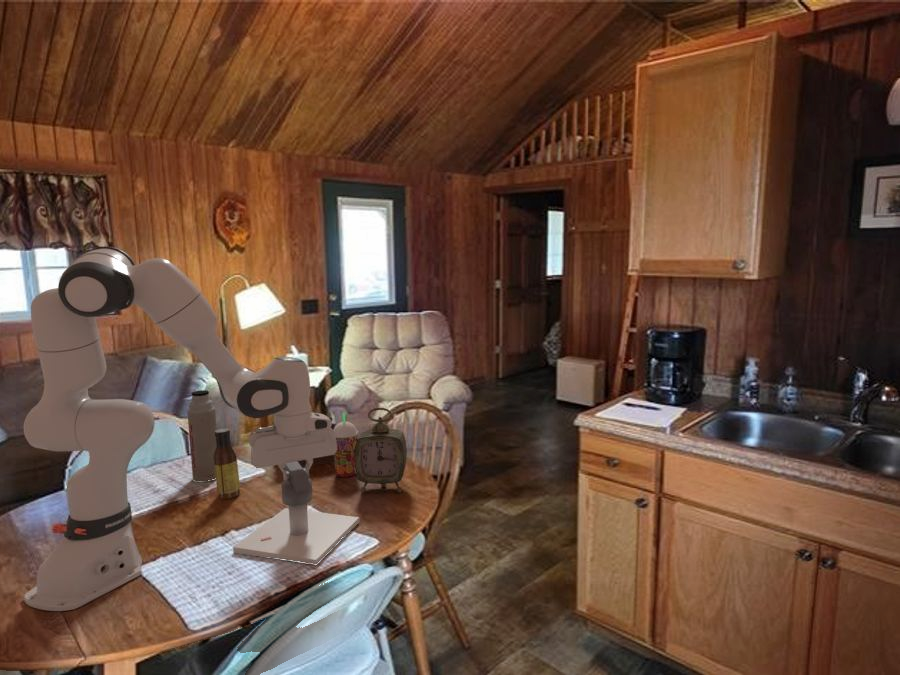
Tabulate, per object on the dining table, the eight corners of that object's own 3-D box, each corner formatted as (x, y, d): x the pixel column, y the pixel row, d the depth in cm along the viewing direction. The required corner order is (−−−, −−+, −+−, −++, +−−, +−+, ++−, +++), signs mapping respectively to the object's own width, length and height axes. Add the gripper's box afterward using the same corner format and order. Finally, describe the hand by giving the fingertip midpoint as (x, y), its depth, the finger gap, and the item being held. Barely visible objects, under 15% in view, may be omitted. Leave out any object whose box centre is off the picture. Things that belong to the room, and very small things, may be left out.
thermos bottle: (193, 484, 178) (185, 395, 174) (192, 475, 185) (185, 390, 181) (220, 479, 181) (214, 392, 177) (219, 471, 189) (213, 387, 185)
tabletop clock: (355, 495, 168) (352, 411, 164) (361, 483, 177) (358, 403, 173) (405, 495, 167) (402, 411, 164) (408, 483, 176) (406, 403, 173)
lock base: (316, 566, 130) (314, 526, 128) (233, 552, 136) (230, 514, 135) (359, 522, 150) (358, 488, 149) (285, 513, 157) (283, 479, 156)
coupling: (318, 505, 138) (317, 473, 137) (288, 512, 135) (286, 479, 134) (305, 488, 149) (304, 458, 148) (277, 493, 145) (275, 463, 144)
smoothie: (328, 477, 182) (325, 416, 179) (340, 468, 190) (338, 409, 187) (352, 480, 179) (349, 417, 176) (364, 470, 187) (361, 410, 184)
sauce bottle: (244, 491, 172) (239, 426, 169) (234, 500, 166) (229, 433, 163) (223, 490, 173) (218, 426, 170) (212, 499, 166) (207, 433, 164)
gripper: (250, 433, 132) (254, 490, 134) (337, 420, 141) (340, 474, 143) (246, 426, 137) (249, 481, 139) (330, 414, 147) (332, 466, 149)
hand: (296, 477), depth 141 cm, fingers closed on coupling, 3 cm apart
